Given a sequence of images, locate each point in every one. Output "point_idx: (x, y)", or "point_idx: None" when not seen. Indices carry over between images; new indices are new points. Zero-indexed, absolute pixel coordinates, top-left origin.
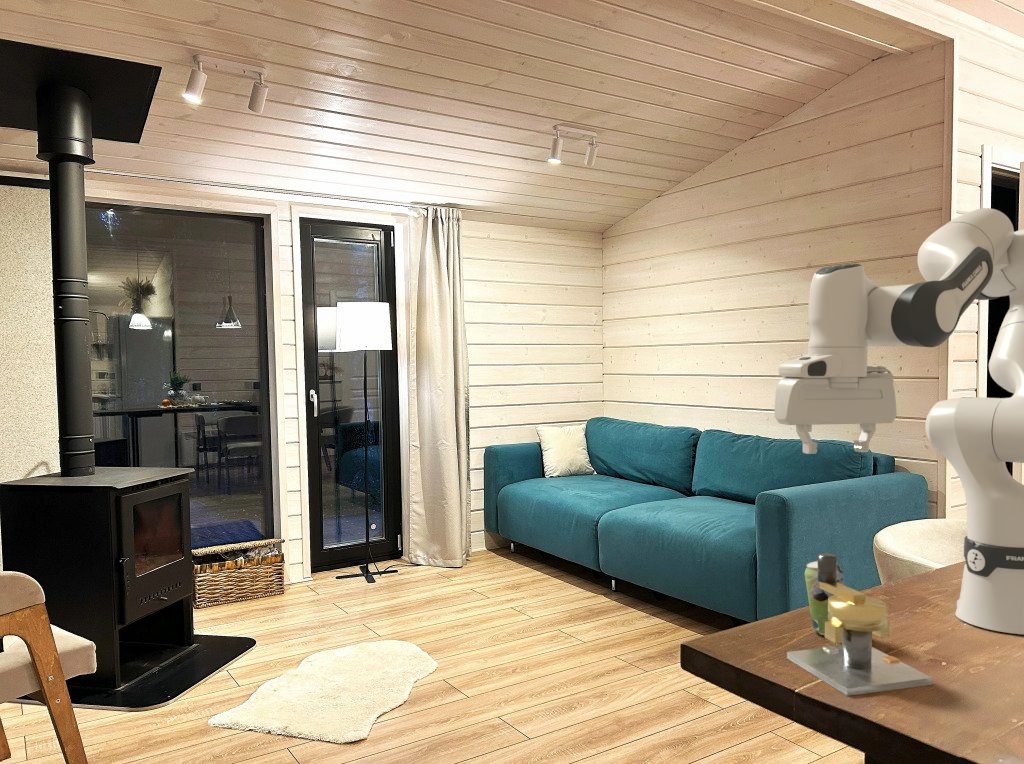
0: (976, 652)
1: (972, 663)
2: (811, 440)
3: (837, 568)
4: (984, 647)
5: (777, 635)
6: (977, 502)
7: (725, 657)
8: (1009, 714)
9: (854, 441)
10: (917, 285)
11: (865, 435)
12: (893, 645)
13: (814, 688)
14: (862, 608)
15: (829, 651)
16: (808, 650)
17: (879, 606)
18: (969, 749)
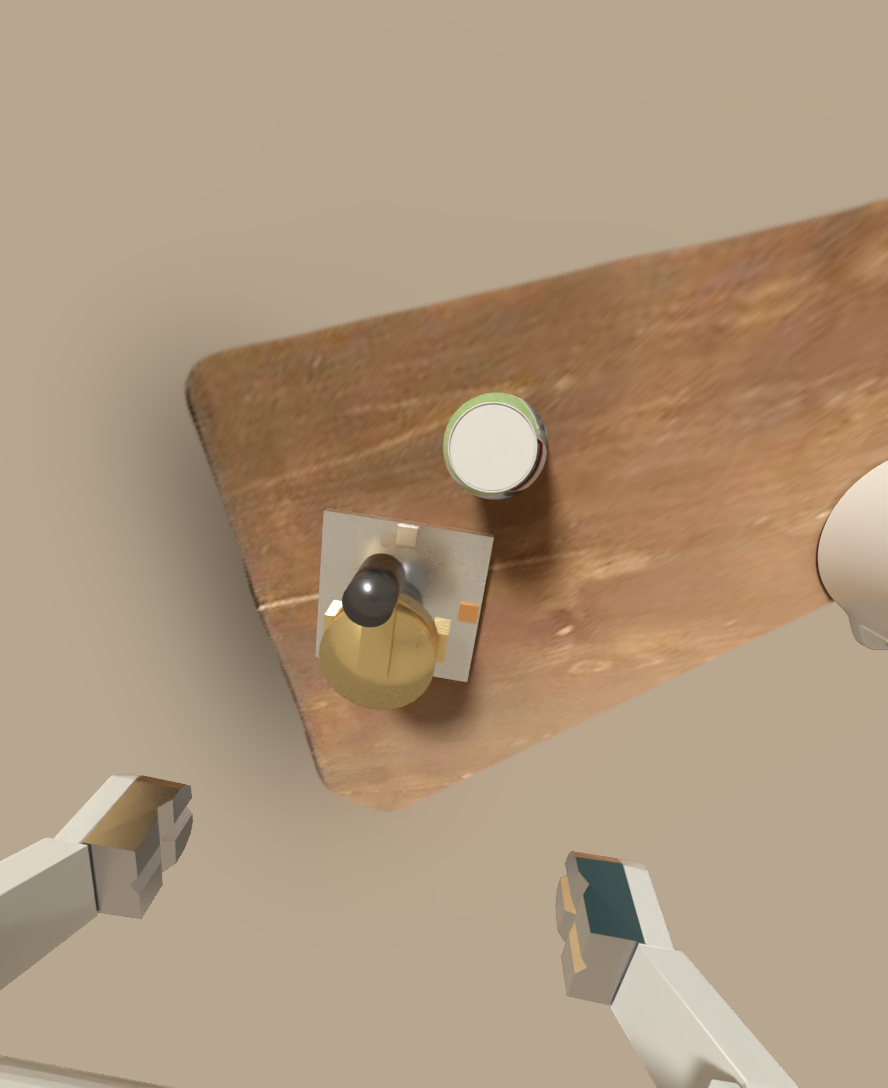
0: (667, 624)
1: (608, 650)
2: (70, 931)
3: (507, 491)
4: (707, 615)
5: (390, 400)
6: None
7: (223, 456)
8: (477, 766)
9: (585, 929)
10: None
11: (660, 1053)
12: (562, 540)
13: (291, 614)
14: (354, 692)
15: (396, 543)
16: (365, 521)
17: (396, 697)
18: (351, 791)
